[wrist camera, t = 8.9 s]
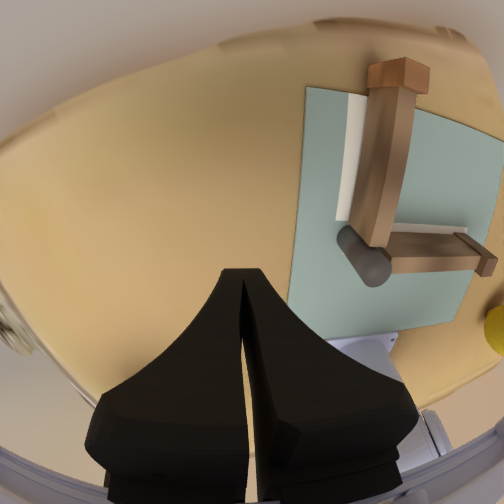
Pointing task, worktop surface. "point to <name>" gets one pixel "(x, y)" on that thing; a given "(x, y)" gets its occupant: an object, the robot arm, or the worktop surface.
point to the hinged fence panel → (385, 146)
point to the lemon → (495, 329)
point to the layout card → (406, 218)
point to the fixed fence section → (414, 255)
